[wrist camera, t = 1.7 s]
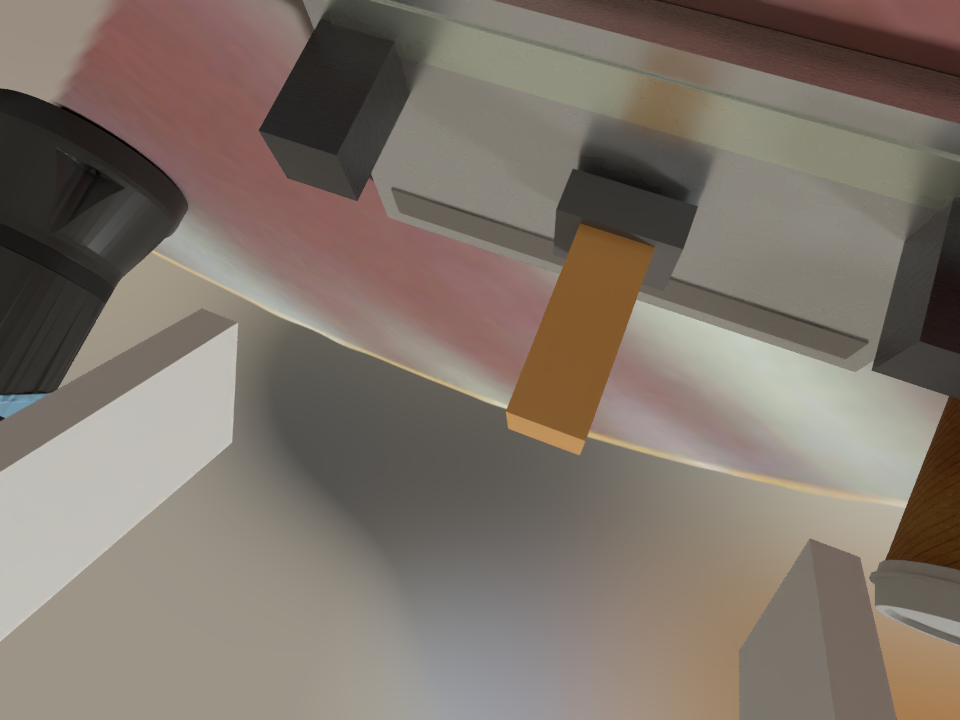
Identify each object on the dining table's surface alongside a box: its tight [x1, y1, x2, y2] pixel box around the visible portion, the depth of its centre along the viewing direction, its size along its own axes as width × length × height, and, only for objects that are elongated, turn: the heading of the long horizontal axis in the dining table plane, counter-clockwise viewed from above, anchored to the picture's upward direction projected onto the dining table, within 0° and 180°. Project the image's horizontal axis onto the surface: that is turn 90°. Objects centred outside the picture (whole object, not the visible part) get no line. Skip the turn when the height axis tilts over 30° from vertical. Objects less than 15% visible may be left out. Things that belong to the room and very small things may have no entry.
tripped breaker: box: [506, 169, 698, 455], centre depth 28 cm, size 5×4×10 cm
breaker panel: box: [259, 0, 960, 399], centre depth 29 cm, size 26×18×6 cm
